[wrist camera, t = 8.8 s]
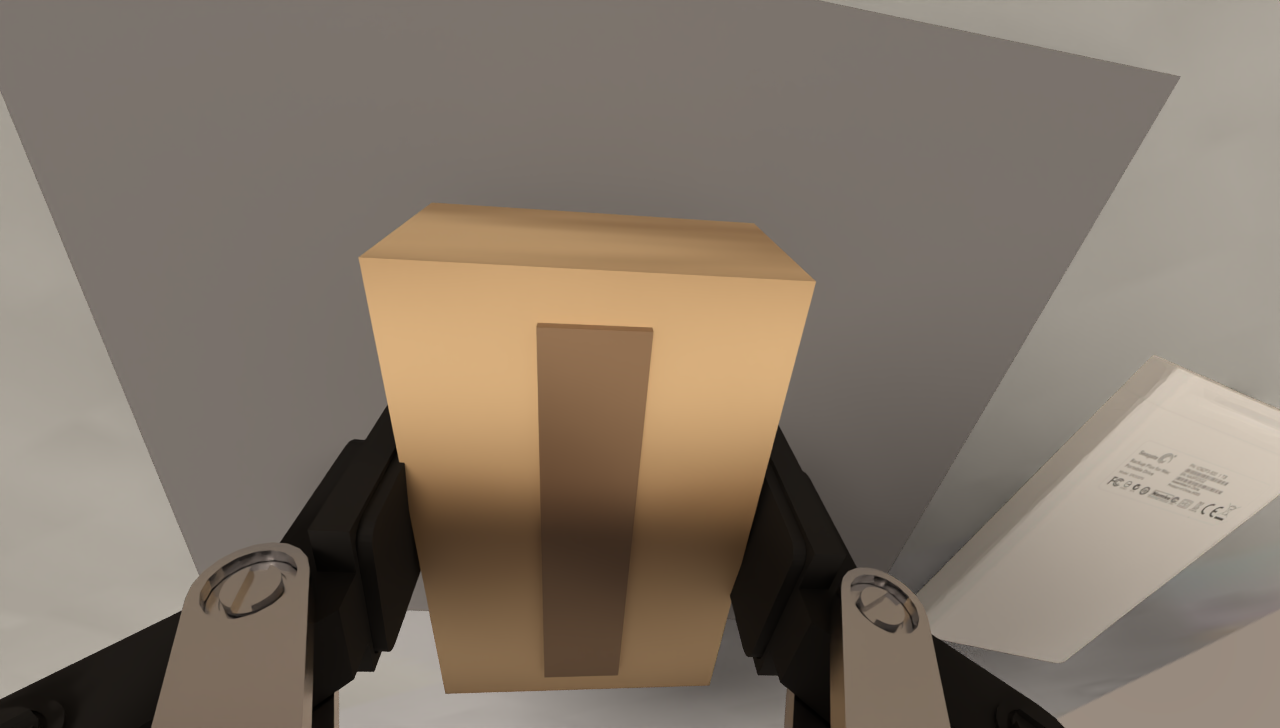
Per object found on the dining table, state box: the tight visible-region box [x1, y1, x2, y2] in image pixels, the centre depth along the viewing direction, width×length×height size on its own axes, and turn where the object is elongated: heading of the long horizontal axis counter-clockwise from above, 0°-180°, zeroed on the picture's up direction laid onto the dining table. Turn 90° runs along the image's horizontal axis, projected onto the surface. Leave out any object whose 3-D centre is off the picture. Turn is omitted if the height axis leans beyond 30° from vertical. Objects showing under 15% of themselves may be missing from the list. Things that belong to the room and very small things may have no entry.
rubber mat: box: [0, 0, 1180, 619], centre depth 13 cm, size 22×18×1 cm
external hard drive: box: [916, 355, 1280, 663], centre depth 18 cm, size 2×8×12 cm
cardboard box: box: [358, 203, 816, 694], centre depth 10 cm, size 10×6×3 cm, turn 175°
